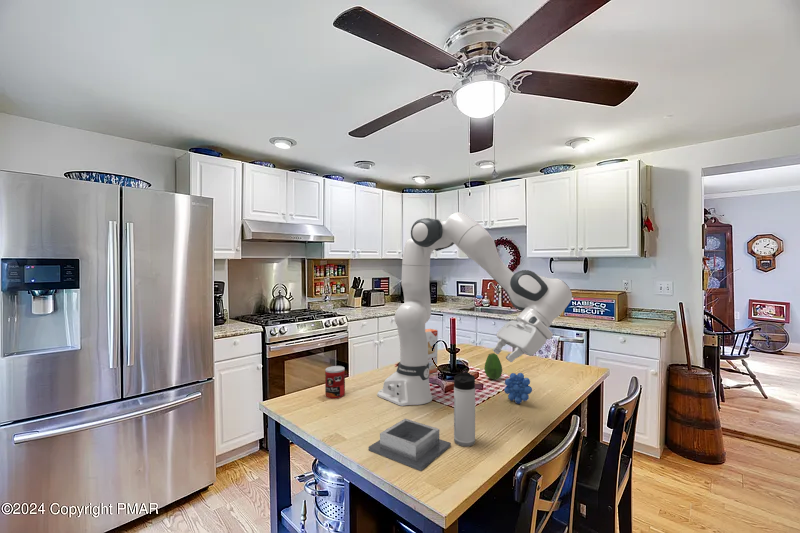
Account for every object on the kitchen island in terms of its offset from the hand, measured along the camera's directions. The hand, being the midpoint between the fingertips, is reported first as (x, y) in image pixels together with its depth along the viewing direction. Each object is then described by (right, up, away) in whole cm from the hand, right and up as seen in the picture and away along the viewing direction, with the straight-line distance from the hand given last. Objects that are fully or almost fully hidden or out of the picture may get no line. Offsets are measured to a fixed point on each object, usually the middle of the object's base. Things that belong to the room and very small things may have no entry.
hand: (501, 356), depth 113 cm
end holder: (-28, -25, -5) cm, 38 cm away
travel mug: (-11, -26, -2) cm, 28 cm away
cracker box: (-20, -25, +67) cm, 74 cm away
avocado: (+12, -25, +57) cm, 63 cm away
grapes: (+15, -25, +29) cm, 41 cm away
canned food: (-57, -25, +37) cm, 73 cm away
